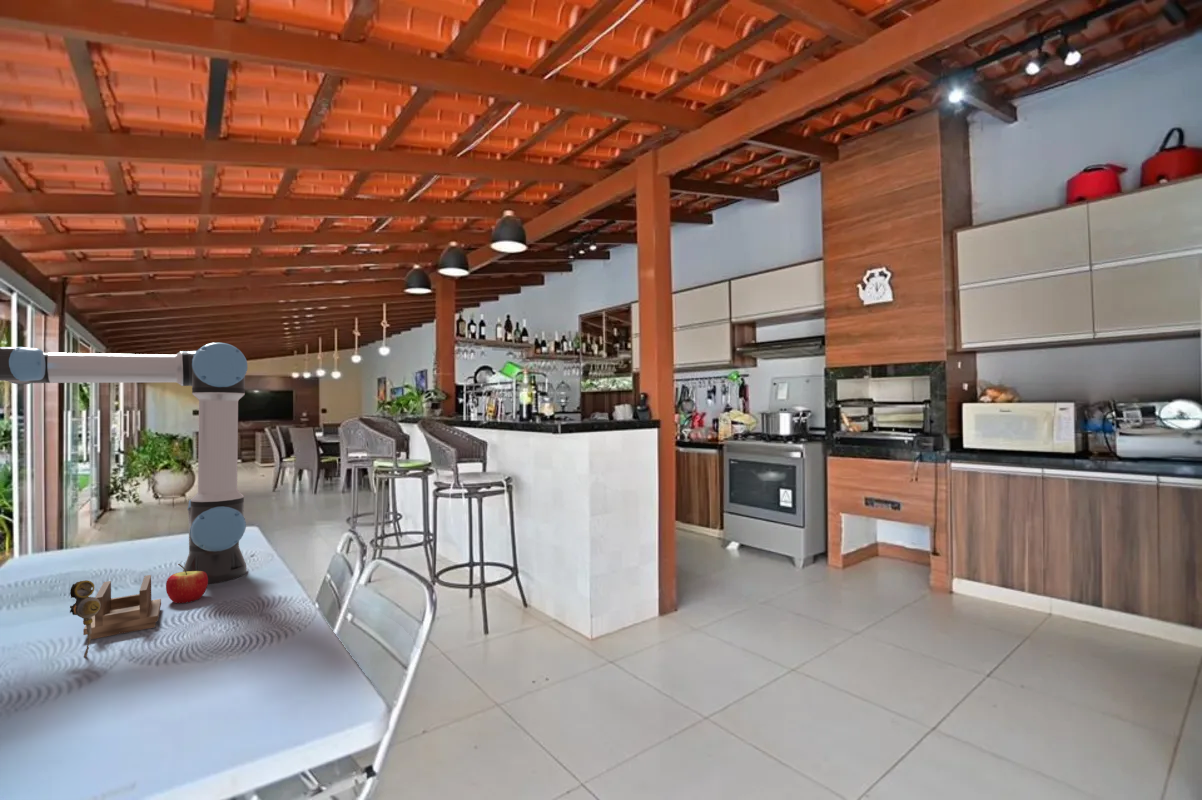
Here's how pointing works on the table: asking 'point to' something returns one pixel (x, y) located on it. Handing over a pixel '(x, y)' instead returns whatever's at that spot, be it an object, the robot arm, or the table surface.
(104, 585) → the stand
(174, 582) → the apple
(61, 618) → the table surface
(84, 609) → the regulator
